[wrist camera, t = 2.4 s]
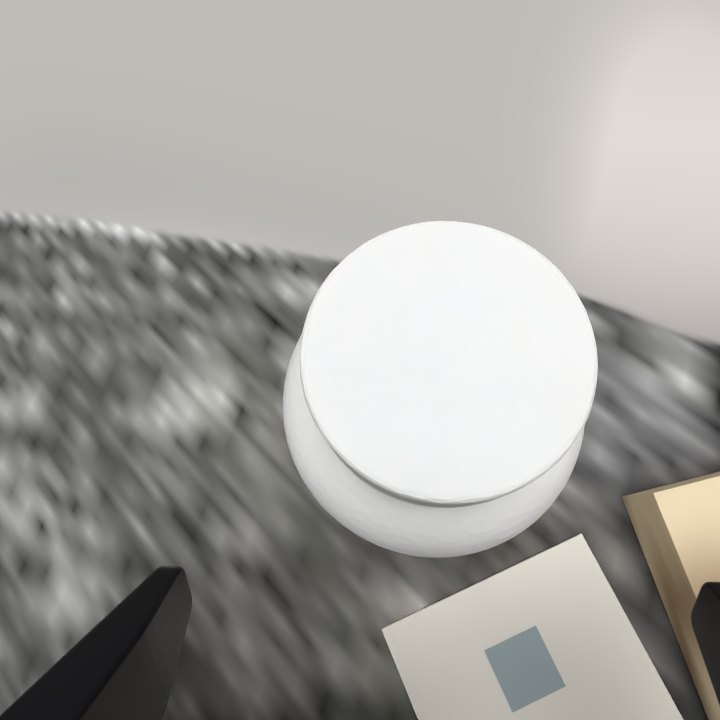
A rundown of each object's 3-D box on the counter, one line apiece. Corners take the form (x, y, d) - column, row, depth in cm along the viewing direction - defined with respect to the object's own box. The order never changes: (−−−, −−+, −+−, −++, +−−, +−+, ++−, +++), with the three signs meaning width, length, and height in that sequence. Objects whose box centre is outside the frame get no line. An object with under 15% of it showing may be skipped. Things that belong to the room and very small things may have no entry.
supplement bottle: (299, 490, 20) (152, 445, 8) (374, 344, 22) (346, 117, 9) (460, 574, 19) (578, 672, 7) (526, 412, 20) (721, 251, 8)
